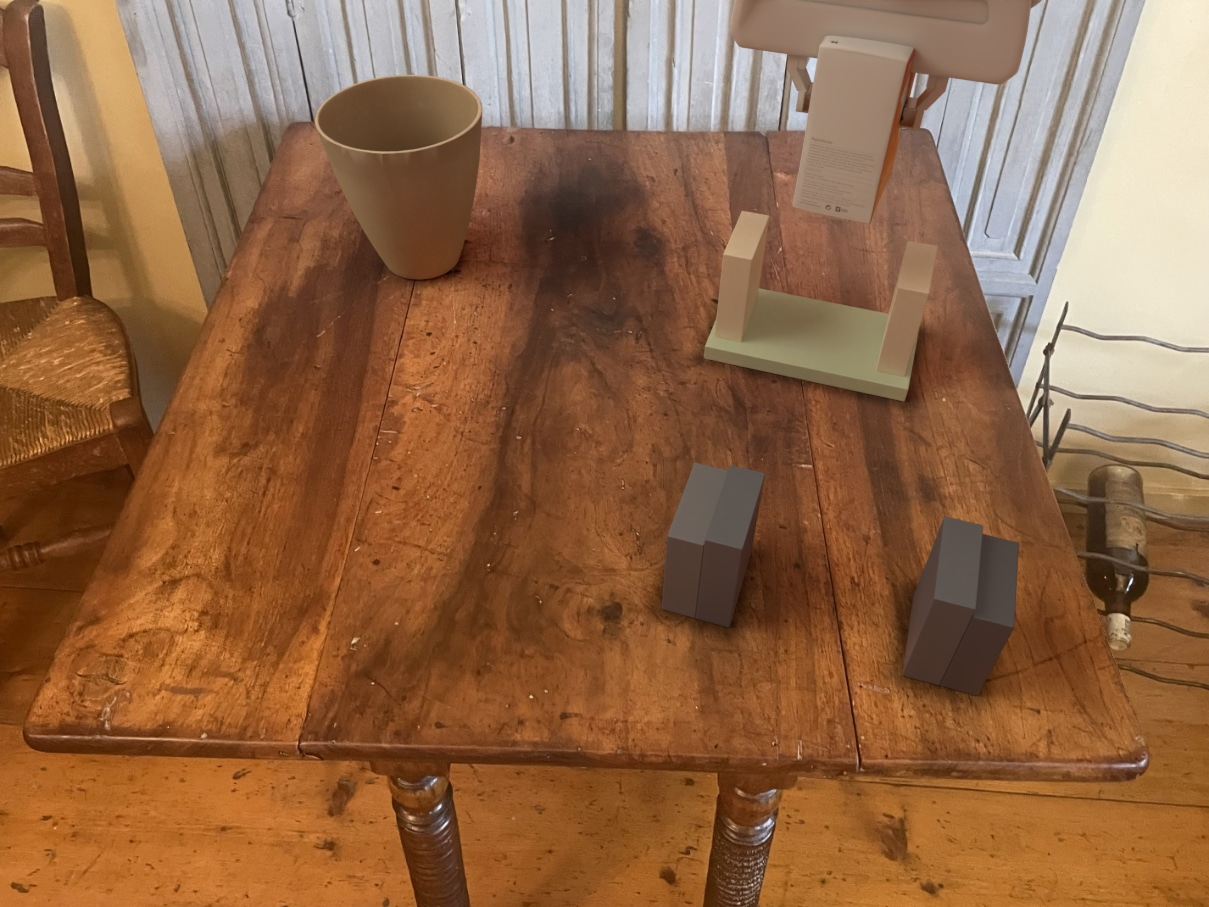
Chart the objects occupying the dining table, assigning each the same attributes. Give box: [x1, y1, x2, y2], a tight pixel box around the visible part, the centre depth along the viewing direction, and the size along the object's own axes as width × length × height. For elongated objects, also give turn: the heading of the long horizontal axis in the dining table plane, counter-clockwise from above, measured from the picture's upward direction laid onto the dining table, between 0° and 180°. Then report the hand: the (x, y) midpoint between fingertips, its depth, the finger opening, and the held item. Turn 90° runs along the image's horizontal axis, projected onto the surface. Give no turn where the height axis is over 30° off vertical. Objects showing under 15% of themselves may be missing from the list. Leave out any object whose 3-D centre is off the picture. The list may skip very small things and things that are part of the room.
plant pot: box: [314, 74, 483, 281], centre depth 94 cm, size 15×15×16 cm
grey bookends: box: [661, 462, 1020, 697], centre depth 67 cm, size 22×7×9 cm, turn 72°
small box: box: [792, 36, 917, 225], centre depth 74 cm, size 8×6×13 cm
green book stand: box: [703, 210, 938, 403], centre depth 87 cm, size 18×10×10 cm, turn 72°
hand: (857, 117), depth 74 cm, fingers closed on small box, 6 cm apart
